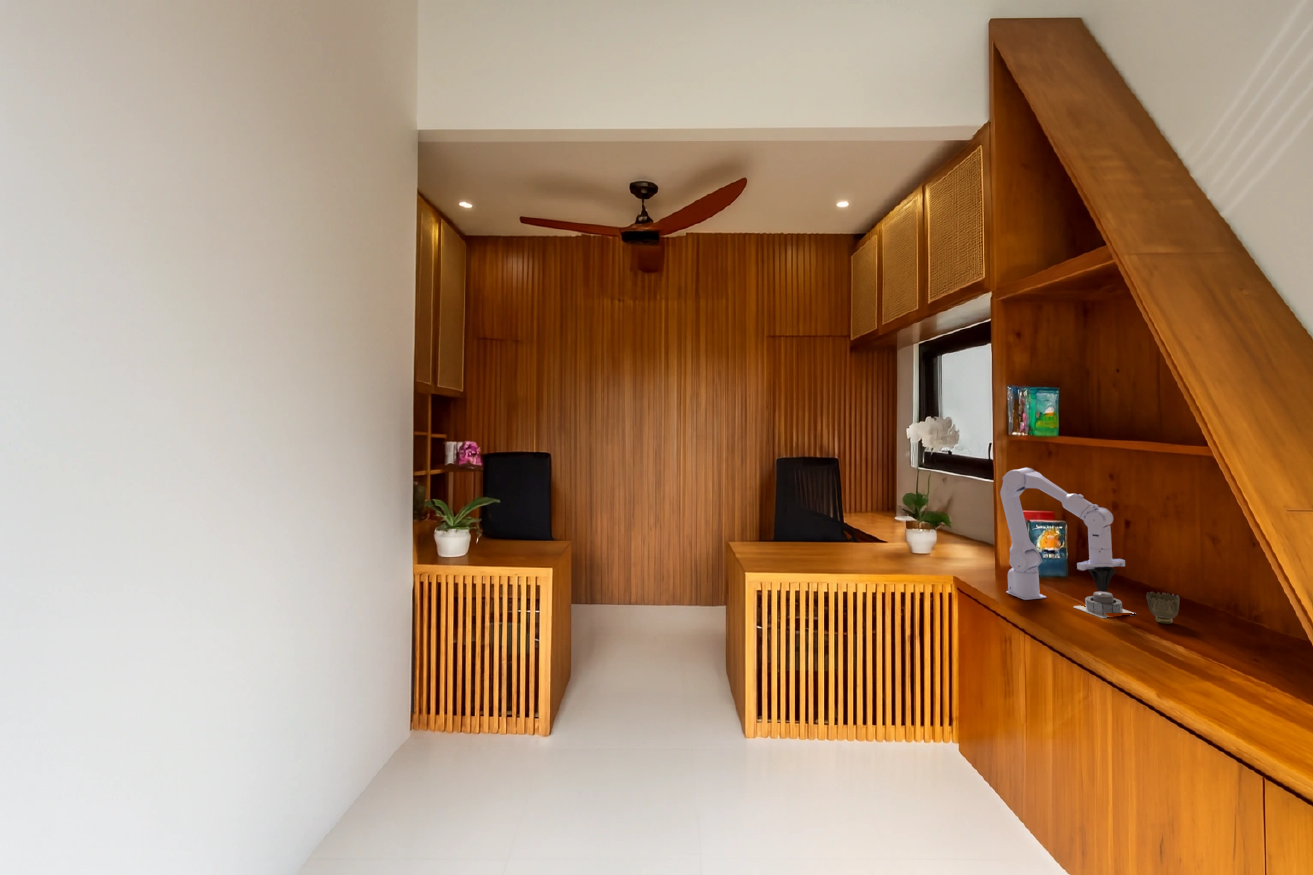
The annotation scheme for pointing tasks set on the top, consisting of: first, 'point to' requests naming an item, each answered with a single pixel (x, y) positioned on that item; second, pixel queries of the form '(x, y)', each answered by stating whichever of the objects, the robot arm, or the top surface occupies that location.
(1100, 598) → the cap
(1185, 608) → the top surface
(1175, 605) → the cup
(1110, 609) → the flanged metal ring
